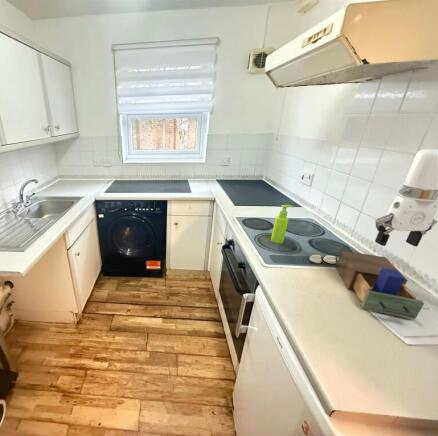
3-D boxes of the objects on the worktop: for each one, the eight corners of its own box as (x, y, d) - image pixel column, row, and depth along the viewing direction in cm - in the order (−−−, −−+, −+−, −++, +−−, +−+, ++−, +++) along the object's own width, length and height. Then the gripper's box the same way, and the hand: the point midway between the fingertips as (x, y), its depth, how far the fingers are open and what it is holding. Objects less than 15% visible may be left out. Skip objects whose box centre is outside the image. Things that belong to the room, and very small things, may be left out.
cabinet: (397, 299, 85) (407, 279, 81) (347, 289, 90) (355, 270, 86) (377, 275, 98) (385, 257, 95) (335, 267, 103) (341, 250, 100)
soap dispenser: (287, 243, 123) (296, 207, 115) (274, 243, 123) (282, 207, 115) (281, 238, 128) (289, 203, 121) (268, 238, 128) (276, 203, 121)
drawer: (423, 330, 71) (433, 312, 69) (367, 317, 76) (375, 300, 73) (391, 291, 87) (399, 276, 85) (347, 282, 92) (353, 268, 89)
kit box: (384, 296, 83) (397, 270, 79) (391, 305, 79) (405, 278, 75) (370, 293, 85) (381, 267, 80) (376, 302, 80) (389, 275, 76)
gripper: (400, 196, 66) (377, 249, 73) (464, 196, 66) (436, 250, 72) (377, 189, 73) (358, 238, 80) (435, 189, 73) (411, 239, 79)
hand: (395, 244), depth 76 cm, fingers open, 9 cm apart
